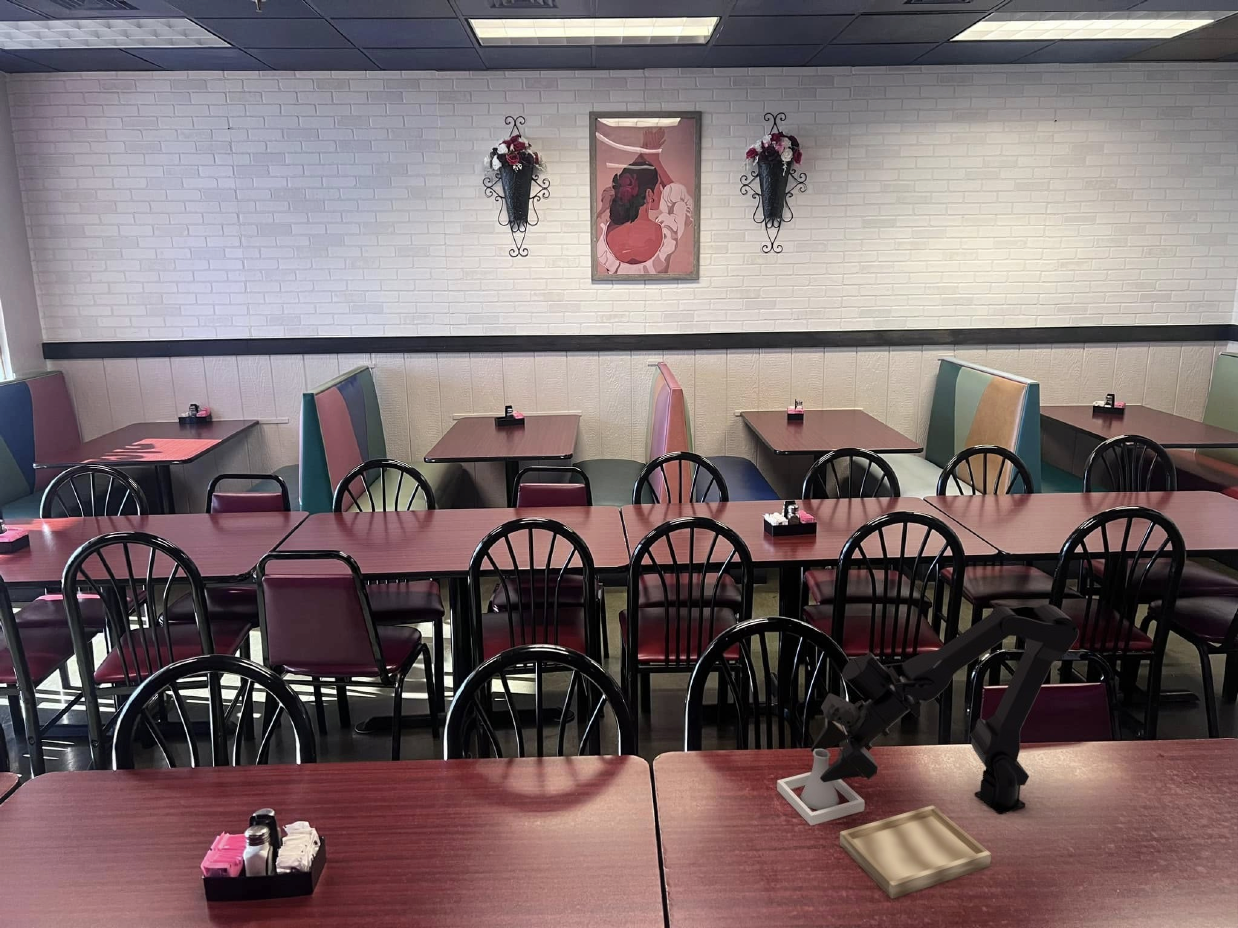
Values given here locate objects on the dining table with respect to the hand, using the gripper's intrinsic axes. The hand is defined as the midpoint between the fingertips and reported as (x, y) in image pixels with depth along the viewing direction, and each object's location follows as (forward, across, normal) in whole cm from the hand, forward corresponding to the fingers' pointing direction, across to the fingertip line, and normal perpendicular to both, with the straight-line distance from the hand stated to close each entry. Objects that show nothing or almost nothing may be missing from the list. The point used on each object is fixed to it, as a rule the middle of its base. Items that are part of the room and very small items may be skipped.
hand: (816, 765), depth 155 cm
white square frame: (+4, 0, +6) cm, 7 cm away
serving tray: (-5, +15, +15) cm, 22 cm away
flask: (+5, 0, +6) cm, 8 cm away
